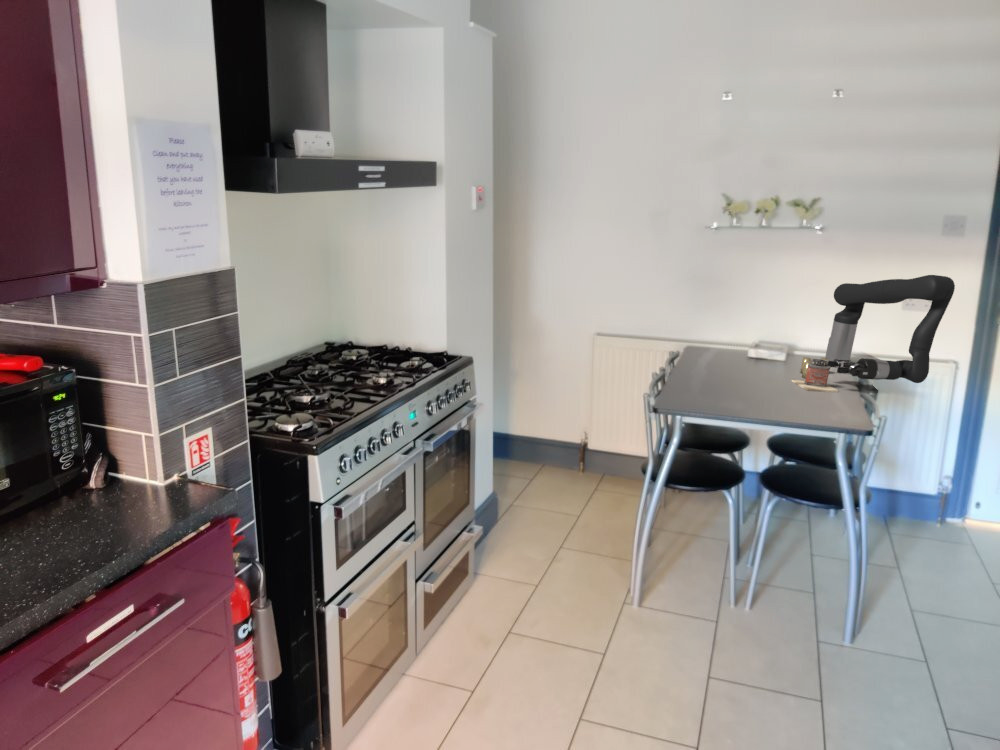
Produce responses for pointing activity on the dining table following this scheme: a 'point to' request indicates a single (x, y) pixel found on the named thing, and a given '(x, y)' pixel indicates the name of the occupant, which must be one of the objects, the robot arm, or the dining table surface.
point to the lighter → (817, 373)
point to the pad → (814, 387)
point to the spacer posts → (805, 365)
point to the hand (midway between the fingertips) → (831, 366)
